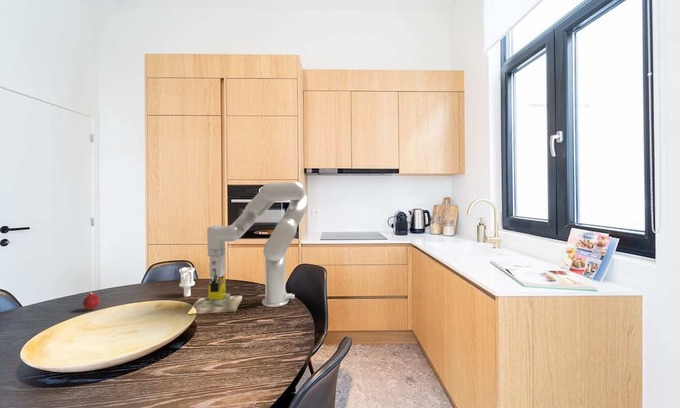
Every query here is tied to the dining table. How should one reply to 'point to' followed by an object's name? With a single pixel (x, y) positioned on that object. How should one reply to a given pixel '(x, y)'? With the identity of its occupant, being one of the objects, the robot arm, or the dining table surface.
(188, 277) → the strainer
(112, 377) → the dining table surface
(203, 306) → the grey flat piece
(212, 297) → the supplement box
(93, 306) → the onion
